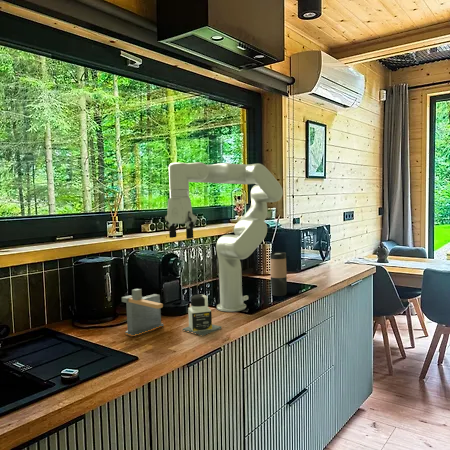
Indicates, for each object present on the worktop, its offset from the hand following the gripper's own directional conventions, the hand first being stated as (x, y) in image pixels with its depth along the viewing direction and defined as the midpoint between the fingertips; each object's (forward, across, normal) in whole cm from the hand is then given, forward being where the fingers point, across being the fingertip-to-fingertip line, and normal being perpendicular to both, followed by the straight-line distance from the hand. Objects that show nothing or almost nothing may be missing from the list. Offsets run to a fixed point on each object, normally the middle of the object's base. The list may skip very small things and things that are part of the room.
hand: (181, 237), depth 168 cm
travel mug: (+32, +9, +54) cm, 64 cm away
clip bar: (+20, +7, -26) cm, 34 cm away
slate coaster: (+32, +16, -6) cm, 37 cm away
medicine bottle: (+32, +16, -7) cm, 36 cm away
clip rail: (+32, 0, -20) cm, 38 cm away
